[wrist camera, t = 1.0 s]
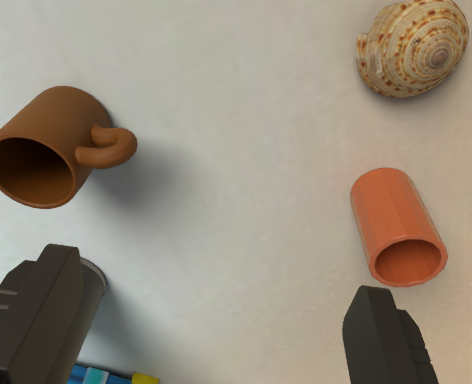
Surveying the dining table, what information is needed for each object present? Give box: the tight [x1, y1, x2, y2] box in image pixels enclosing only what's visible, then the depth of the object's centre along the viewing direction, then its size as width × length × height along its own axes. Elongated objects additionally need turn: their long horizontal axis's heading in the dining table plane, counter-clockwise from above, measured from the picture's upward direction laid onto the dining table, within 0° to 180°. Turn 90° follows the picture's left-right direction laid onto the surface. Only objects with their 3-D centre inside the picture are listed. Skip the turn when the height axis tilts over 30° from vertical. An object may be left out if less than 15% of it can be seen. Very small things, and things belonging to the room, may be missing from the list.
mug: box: [0, 86, 138, 209], centre depth 36 cm, size 12×8×9 cm, turn 100°
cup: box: [350, 168, 448, 287], centre depth 39 cm, size 6×6×10 cm
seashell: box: [356, 0, 469, 98], centre depth 33 cm, size 8×6×8 cm
